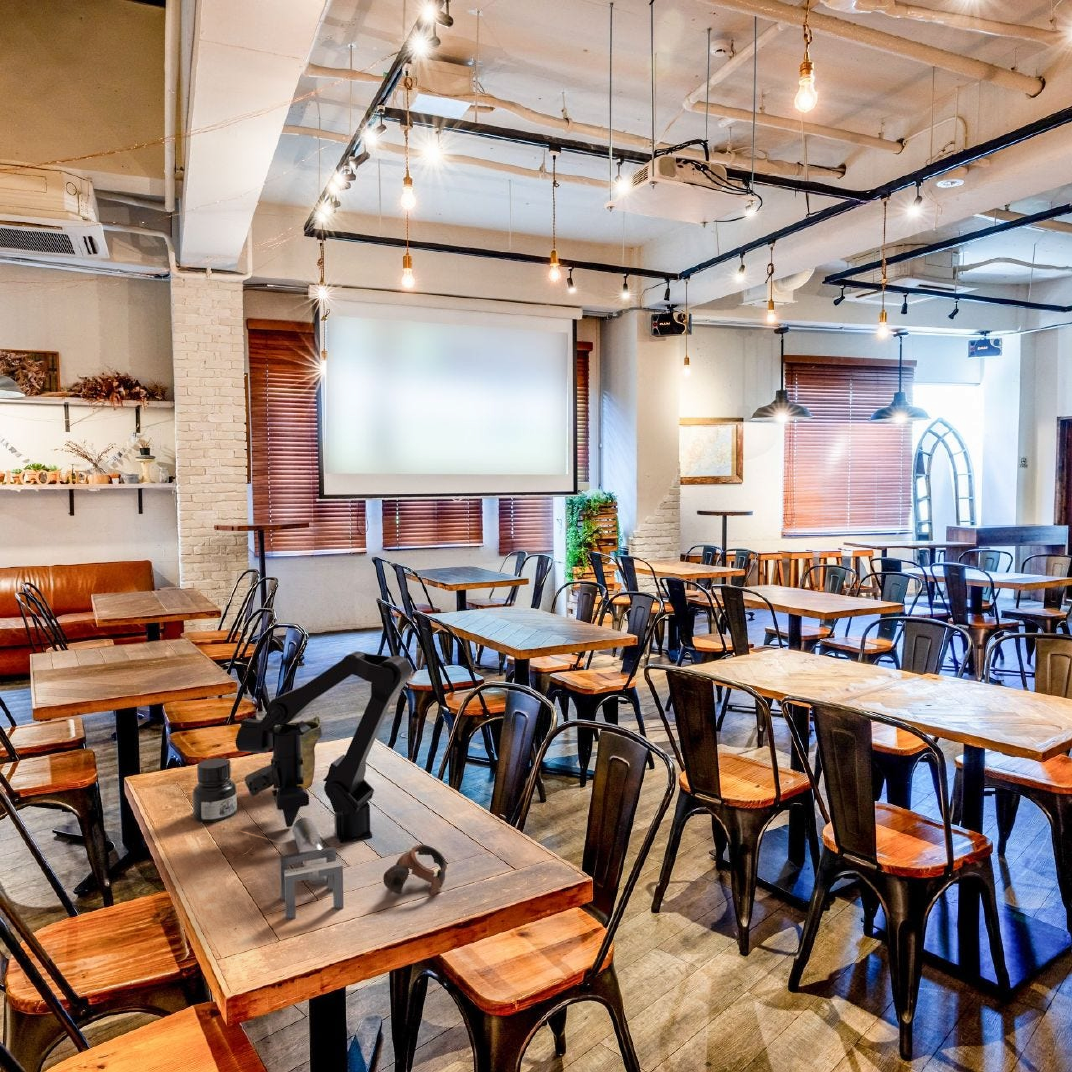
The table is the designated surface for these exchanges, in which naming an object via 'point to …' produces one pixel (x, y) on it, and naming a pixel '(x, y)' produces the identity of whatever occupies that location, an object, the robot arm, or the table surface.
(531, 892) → the table surface
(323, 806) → the table surface
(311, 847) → the air tube
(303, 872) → the arch block
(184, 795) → the table surface
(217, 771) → the ink bottle
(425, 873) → the brown headphones
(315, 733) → the pot
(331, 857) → the arch block
